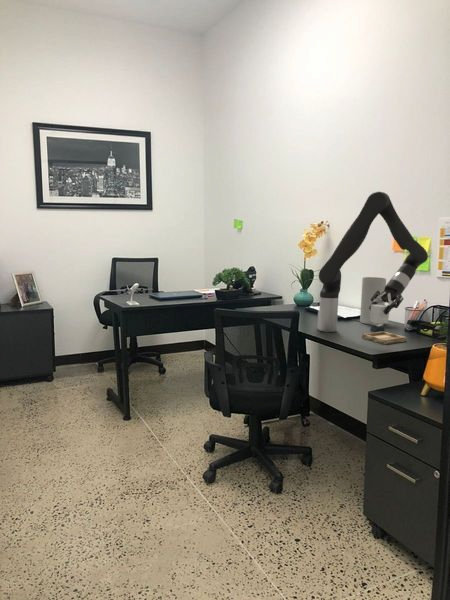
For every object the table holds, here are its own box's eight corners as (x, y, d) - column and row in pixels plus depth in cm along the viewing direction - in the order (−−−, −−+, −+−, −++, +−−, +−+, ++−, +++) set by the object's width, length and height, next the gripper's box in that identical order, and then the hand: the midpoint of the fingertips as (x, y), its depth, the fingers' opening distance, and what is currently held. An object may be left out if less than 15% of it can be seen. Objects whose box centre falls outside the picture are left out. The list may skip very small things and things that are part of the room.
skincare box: (382, 320, 217) (383, 304, 216) (388, 323, 211) (389, 306, 210) (369, 320, 216) (370, 304, 215) (375, 323, 210) (376, 306, 209)
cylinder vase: (358, 323, 265) (361, 278, 261) (361, 320, 276) (363, 276, 273) (382, 326, 260) (385, 280, 257) (384, 321, 272) (387, 277, 268)
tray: (362, 338, 231) (362, 334, 230) (382, 335, 238) (382, 331, 237) (385, 344, 219) (385, 340, 218) (405, 341, 226) (406, 337, 225)
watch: (387, 332, 244) (389, 311, 242) (373, 333, 242) (374, 311, 240) (381, 330, 249) (382, 309, 248) (367, 330, 247) (368, 309, 246)
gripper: (381, 277, 220) (361, 303, 216) (407, 280, 208) (386, 308, 204) (388, 287, 224) (369, 314, 220) (414, 292, 211) (394, 320, 208)
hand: (377, 311), depth 212 cm, fingers closed on skincare box, 7 cm apart
